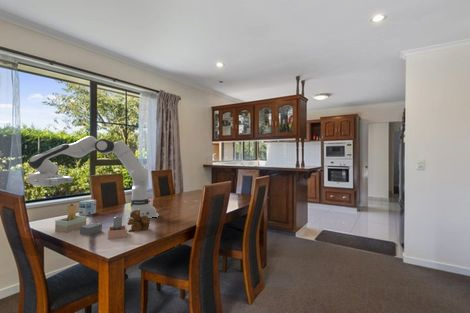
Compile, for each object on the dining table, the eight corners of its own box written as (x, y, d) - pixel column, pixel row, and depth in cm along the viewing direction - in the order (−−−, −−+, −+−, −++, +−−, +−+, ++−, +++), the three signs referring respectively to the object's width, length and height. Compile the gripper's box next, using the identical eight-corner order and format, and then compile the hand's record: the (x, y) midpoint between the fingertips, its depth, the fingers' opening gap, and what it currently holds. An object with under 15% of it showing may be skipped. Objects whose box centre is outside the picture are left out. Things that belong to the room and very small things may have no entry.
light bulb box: (85, 215, 189) (86, 202, 189) (78, 215, 190) (78, 201, 190) (96, 212, 199) (96, 199, 200) (89, 212, 201) (89, 199, 201)
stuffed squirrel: (130, 228, 161) (131, 208, 161) (152, 228, 162) (152, 208, 163) (125, 232, 151) (125, 211, 151) (148, 232, 153) (149, 211, 153)
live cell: (75, 221, 159) (76, 203, 159) (74, 223, 155) (75, 204, 155) (67, 222, 157) (68, 203, 157) (66, 223, 153) (67, 205, 153)
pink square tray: (125, 233, 150) (125, 225, 150) (126, 238, 141) (126, 229, 141) (108, 235, 146) (108, 226, 146) (107, 240, 137) (108, 231, 137)
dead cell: (121, 234, 146) (121, 214, 147) (121, 236, 143) (122, 216, 143) (112, 235, 144) (113, 215, 145) (112, 237, 141) (113, 217, 141)
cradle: (92, 230, 153) (93, 222, 153) (101, 232, 151) (102, 223, 151) (80, 234, 144) (80, 225, 144) (89, 236, 142) (89, 227, 143)
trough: (75, 225, 164) (75, 215, 164) (86, 226, 161) (86, 216, 161) (55, 231, 150) (55, 220, 150) (66, 232, 148) (66, 221, 148)
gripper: (32, 176, 155) (49, 177, 151) (63, 174, 174) (78, 175, 171) (32, 186, 155) (48, 187, 151) (63, 183, 174) (78, 184, 170)
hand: (64, 181), depth 161 cm, fingers open, 8 cm apart
